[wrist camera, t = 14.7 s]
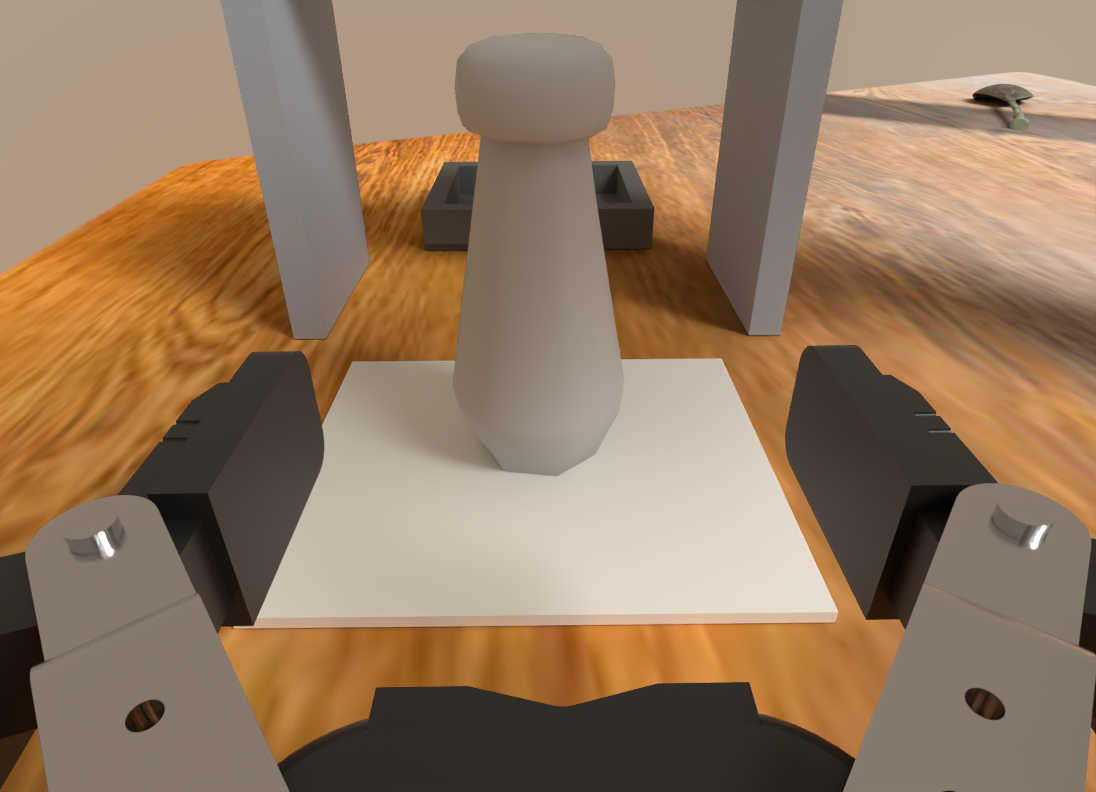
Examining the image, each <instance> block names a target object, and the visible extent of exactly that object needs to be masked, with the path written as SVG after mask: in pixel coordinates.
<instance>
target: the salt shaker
mask: <svg viewBox="0 0 1096 792" xmlns="http://www.w3.org/2000/svg"><path fill="white" fill-rule="evenodd" d="M614 93H615V78H614V69H613V61H612V57H611V56H610V55H609V54H608V53H607V51H606V50H605V49H604V48H603V46H602V45H601V44H600V43H597V42H595V41H592V40H589V39H587V38H584V37H580V36H575V35H564V34H555V33H550V34H549V33H525V34H512V35H501V36H492V37H489V38H486V39H484V40H481V41H479V42H476V43H474V44H471V45H469V46H468V47H467V48H466V50H465V51H464V53H462V55H461V56H460V57H459V59H458V60H457V67H456V78H455V94H456V102H457V110H458V114H459V117H460V119H461V122H462V125H463V126H464V127H465V128H466V129H467V130H468V131H469V132H472V133H475V134H478V135H481V140H480V149H479V157H478V166H477V175H476V183H475V192H474V201H473V209H472V218H471V227H470V235H469V244H468V253H467V261H466V270H465V279H464V287H463V296H462V305H461V313H460V322H459V331H458V339H457V348H456V357H455V365H454V374H453V383H452V386H453V390H454V393H455V397H456V400H457V403H458V406H459V408H460V411H461V414H462V417H463V419H464V420H465V421H466V423H467V424H468V425H469V427H470V428H471V429H472V431H473V432H474V433H475V435H476V436H477V437H478V439H479V440H480V442H481V444H482V445H483V446H484V447H485V449H486V450H487V451H488V452H489V454H490V455H491V456H492V457H493V458H494V460H495V461H496V462H497V463H498V465H499V466H500V467H501V468H502V469H503V471H508V472H518V473H528V474H538V475H548V476H558V475H560V474H562V473H564V472H565V471H567V470H569V469H571V468H572V467H574V466H576V465H578V464H580V463H581V462H583V461H585V460H587V459H588V458H590V457H592V456H594V455H595V454H596V452H597V450H598V449H599V447H600V445H601V443H602V441H603V440H604V438H605V436H606V434H607V432H608V431H609V429H610V427H611V425H612V423H613V422H614V420H615V418H616V416H617V414H618V413H619V408H620V404H621V399H622V392H623V384H624V375H623V369H622V362H621V356H620V349H619V343H618V337H617V330H616V324H615V317H614V311H613V304H612V298H611V292H610V285H609V279H608V272H607V266H606V260H605V253H604V247H603V240H602V234H601V227H600V221H599V215H598V208H597V202H596V194H595V186H594V178H593V170H592V163H591V155H590V147H589V139H588V138H590V137H592V136H594V135H596V134H598V133H600V132H602V131H604V130H605V129H606V128H607V125H608V123H609V120H610V117H611V114H612V111H613V103H614Z"/></svg>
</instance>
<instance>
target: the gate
mask: <svg viewBox="0 0 1096 792" xmlns="http://www.w3.org/2000/svg"><path fill="white" fill-rule="evenodd" d="M220 1H221V5H222V10H223V15H224V19H225V24H226V28H227V33H228V37H229V42H230V47H231V51H232V55H233V61H234V65H235V70H236V74H237V79H238V84H239V88H240V93H241V97H242V102H243V107H244V111H245V115H246V120H247V125H248V130H249V134H250V139H251V144H252V148H253V153H254V157H255V162H256V167H257V171H258V176H259V180H260V185H261V190H262V194H263V199H264V203H265V208H266V213H267V217H268V222H269V226H270V231H271V236H272V240H273V245H274V249H275V254H276V259H277V263H278V268H279V273H280V277H281V282H282V286H283V291H284V296H285V300H286V305H287V309H288V314H289V319H290V323H291V328H292V332H293V337H294V339H326V337H327V336H328V334H329V332H330V330H331V329H332V327H333V325H334V323H335V322H336V320H337V318H338V317H339V315H340V313H341V311H342V310H343V308H344V306H345V304H346V303H347V301H348V299H349V297H350V296H351V294H352V292H353V290H354V289H355V287H356V285H357V284H358V282H359V280H360V278H361V277H362V275H363V273H364V271H365V270H366V268H367V266H368V264H369V263H370V261H369V254H368V247H367V240H366V233H365V226H364V219H363V212H362V205H361V198H360V191H359V184H358V178H357V171H356V164H355V157H354V150H353V143H352V136H351V129H350V123H349V115H348V109H347V101H346V94H345V88H344V81H343V74H342V67H341V60H340V53H339V46H338V39H337V32H336V25H335V19H334V12H333V5H332V0H220ZM842 5H843V0H737V6H736V14H735V22H734V32H733V39H732V48H731V56H730V65H729V73H728V81H727V90H726V98H725V106H724V115H723V123H722V131H721V140H720V148H719V157H718V165H717V173H716V182H715V190H714V198H713V207H712V215H711V224H710V232H709V240H708V249H707V257H706V260H707V262H708V264H709V266H710V267H711V269H712V271H713V273H714V275H715V276H716V278H717V280H718V282H719V283H720V285H721V287H722V289H723V291H724V292H725V294H726V296H727V298H728V299H729V301H730V303H731V305H732V307H733V308H734V310H735V312H736V314H737V315H738V317H739V319H740V321H741V323H742V324H743V326H744V328H745V330H746V331H747V333H748V335H780V334H781V329H782V323H783V318H784V313H785V307H786V302H787V297H788V292H789V286H790V281H791V276H792V270H793V265H794V260H795V254H796V249H797V244H798V239H799V233H800V228H801V223H802V217H803V212H804V207H805V201H806V196H807V191H808V185H809V180H810V175H811V170H812V164H813V159H814V154H815V148H816V143H817V138H818V132H819V127H820V122H821V117H822V111H823V106H824V101H825V95H826V90H827V85H828V79H829V74H830V69H831V63H832V58H833V53H834V47H835V42H836V36H837V32H838V26H839V21H840V16H841V10H842Z"/></svg>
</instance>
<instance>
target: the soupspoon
mask: <svg viewBox="0 0 1096 792" xmlns="http://www.w3.org/2000/svg"><path fill="white" fill-rule="evenodd" d="M1032 97H1034V96H1033V94H1032V93H1030V92H1029V91H1028V90H1026V89H1024V88H1022V87H1019V86H1016V85H1010V84H997V85H991V86H988V87H985V88H982V89H980V90H978V91H977V92H975V93H974V94H973V98H974V99H983V98H986V99H1002V100H1004V101H1006V102H1008V103H1009V105H1010V106H1011V108H1012V109H1013V112H1014V114H1015V115H1014V117H1013V118H1014V120H1012V121H1011V123H1010V125H1009V129H1021V130H1026V129H1027V128H1028V127H1029V121H1028V120H1027V119H1026V118H1023V117H1024V114H1023V113H1022V112H1021V109H1020V107H1019V106H1018V104H1017V103H1016V101H1021V100H1027V99H1030V98H1032ZM1015 100H1016V101H1015Z"/></svg>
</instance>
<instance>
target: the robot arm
mask: <svg viewBox="0 0 1096 792" xmlns="http://www.w3.org/2000/svg"><path fill="white" fill-rule="evenodd" d="M950 429H951V428H950V427H949V426H948V425H947V424H946V423H945V421H944V420H943V419H942V418H941V417H940V416H936V411H935V410H934V409H933V408H932V407H931V405H930V404H929V403H928V402H927V401H926V400H925V399H924V397H923V396H922V395H921V394H920V393H919V392H918V391H916V390H915V389H913V388H911V387H910V386H908V385H906V384H905V383H903V382H901V381H900V380H898V379H896V378H895V377H893V376H892V375H882V374H881V373H880V371H879V370H878V369H877V368H876V367H875V365H874V364H873V363H872V362H871V360H870V359H869V358H868V357H867V356H866V354H865V353H864V352H863V351H862V349H861V348H860V347H858V346H856V345H829V346H807V347H806V348H805V349H804V351H803V353H802V355H801V358H800V362H799V367H798V372H797V377H796V382H795V386H794V391H793V396H792V401H791V406H790V411H789V416H788V421H787V426H786V435H785V443H786V452H787V457H788V461H789V464H790V466H791V468H792V470H793V472H794V474H795V476H796V478H797V480H798V482H799V484H800V486H801V488H802V490H803V492H804V495H805V497H806V499H807V501H808V503H809V505H810V507H811V509H812V511H813V513H814V515H815V517H816V519H817V521H818V523H819V525H820V527H821V529H822V531H823V533H824V535H825V537H826V539H827V541H828V543H829V545H830V547H831V549H832V551H833V553H834V555H835V558H836V560H837V562H838V564H839V566H840V568H841V570H842V572H843V574H844V576H845V578H846V580H847V582H848V584H849V586H850V588H851V590H852V592H853V594H854V596H855V598H856V600H857V602H858V604H859V606H860V608H861V610H862V612H863V614H864V616H865V618H866V620H879V619H900V621H901V623H902V625H903V627H904V628H905V633H904V635H903V638H902V640H901V643H900V645H899V648H898V651H897V653H896V656H895V658H894V661H893V664H892V666H891V669H890V671H889V674H888V677H887V679H886V682H885V684H884V687H883V689H882V692H881V695H880V697H879V700H878V702H877V705H876V708H875V710H874V713H873V715H872V718H871V721H870V723H869V726H868V728H867V731H866V733H865V736H864V739H863V741H862V744H861V746H860V749H859V752H858V754H857V757H856V759H855V758H853V757H852V756H850V755H849V754H848V753H846V752H845V751H843V750H842V749H841V748H839V747H837V746H836V745H834V744H832V743H831V742H829V741H827V740H825V739H824V738H822V737H820V736H818V735H817V734H815V733H812V732H810V731H808V730H806V729H804V728H801V727H799V726H797V725H795V724H792V723H789V722H787V721H784V720H781V719H778V718H775V717H772V716H768V715H764V714H760V713H758V711H757V708H756V704H755V701H754V697H753V694H752V690H751V687H750V684H749V682H733V683H663V684H654V685H650V686H646V687H642V688H639V689H635V690H631V691H627V692H623V693H619V694H615V695H612V696H608V697H604V698H600V699H596V700H592V701H588V702H585V703H581V704H577V705H573V706H567V707H559V706H552V705H548V704H544V703H539V702H535V701H530V700H526V699H522V698H517V697H513V696H508V695H504V694H500V693H495V692H491V691H486V690H482V689H478V688H473V687H469V686H451V687H381V688H376V690H375V695H374V699H373V704H372V708H371V712H370V717H369V719H365V720H361V721H358V722H355V723H352V724H349V725H347V726H344V727H341V728H339V729H336V730H333V731H331V732H329V733H327V734H325V735H323V736H321V737H319V738H317V739H315V740H313V741H311V742H310V743H308V744H306V745H305V746H303V747H302V748H300V749H298V750H297V751H295V752H294V753H292V754H290V755H289V756H288V757H286V758H285V759H284V760H282V761H281V762H280V763H278V764H277V763H276V761H275V759H274V757H273V755H272V752H271V750H270V748H269V746H268V744H267V741H266V739H265V737H264V735H263V733H262V731H261V728H260V726H259V724H258V722H257V720H256V717H255V715H254V713H253V711H252V709H251V706H250V704H249V702H248V700H247V698H246V696H245V693H244V691H243V689H242V687H241V685H240V682H239V680H238V678H237V676H236V674H235V672H234V669H233V667H232V665H231V663H230V661H229V658H228V656H227V654H226V652H225V650H224V647H223V645H222V643H221V641H220V639H219V637H218V632H219V630H220V628H221V626H254V624H255V621H256V619H257V617H258V614H259V612H260V610H261V607H262V605H263V603H264V601H265V598H266V596H267V594H268V591H269V589H270V587H271V584H272V582H273V580H274V577H275V575H276V573H277V570H278V568H279V566H280V563H281V561H282V559H283V556H284V554H285V552H286V549H287V547H288V545H289V542H290V540H291V538H292V536H293V533H294V531H295V529H296V526H297V524H298V522H299V519H300V517H301V515H302V512H303V510H304V508H305V505H306V503H307V501H308V498H309V496H310V494H311V491H312V489H313V487H314V484H315V482H316V480H317V478H318V475H319V473H320V470H321V468H322V464H323V458H324V434H323V429H322V424H321V420H320V415H319V410H318V406H317V401H316V397H315V392H314V388H313V383H312V379H311V374H310V369H309V365H308V362H307V359H306V357H305V356H304V354H303V353H302V352H299V351H297V352H252V353H251V354H250V355H249V356H248V357H247V358H246V360H245V361H244V362H243V364H242V365H241V367H240V368H239V369H238V371H237V372H236V373H235V375H234V376H233V377H232V379H231V380H230V381H229V383H218V384H217V385H215V386H214V387H212V388H210V389H209V390H207V391H206V392H204V393H203V394H201V395H200V396H198V397H197V398H195V399H194V400H192V401H191V403H190V404H189V405H188V406H187V408H186V409H185V410H184V412H183V413H182V414H181V415H180V417H179V418H178V419H177V420H176V425H172V427H171V428H170V429H169V431H168V432H167V433H166V434H165V436H164V437H163V442H159V443H158V444H157V446H156V447H155V448H154V450H153V451H152V452H151V453H150V455H149V456H148V457H147V458H146V460H145V461H144V462H143V463H142V465H141V466H140V467H139V469H138V470H137V471H136V472H135V474H134V475H133V476H132V477H131V479H130V480H129V481H128V482H127V484H126V485H125V486H124V488H123V489H122V490H121V491H120V493H119V494H118V495H117V496H110V497H104V498H100V499H95V500H92V501H89V502H86V503H83V504H81V505H78V506H76V507H74V508H72V509H70V510H68V511H66V512H64V513H62V514H60V515H59V516H57V517H55V518H54V519H52V520H51V521H50V522H48V523H47V524H46V525H45V526H43V527H42V528H41V529H40V530H39V531H38V532H37V533H36V534H35V536H34V537H33V538H32V539H31V541H30V543H29V545H28V546H27V550H26V552H22V553H18V554H13V555H9V556H4V557H0V789H1V787H2V785H3V784H4V782H5V780H6V779H7V777H8V775H9V774H10V772H11V770H12V769H13V767H14V765H15V763H16V762H17V760H18V758H19V757H20V755H21V753H22V752H23V750H24V748H25V747H26V745H27V743H28V741H29V740H30V738H31V736H32V735H33V733H34V731H35V730H36V729H37V728H38V731H39V737H40V743H41V749H42V755H43V761H44V767H45V773H46V779H47V785H48V791H49V792H1084V790H1085V780H1086V770H1087V760H1088V750H1089V740H1090V730H1091V727H1092V729H1093V730H1094V732H1095V734H1096V539H1092V538H1091V537H1090V534H1089V532H1088V530H1087V529H1086V527H1085V525H1084V524H1083V523H1082V522H1081V521H1080V520H1079V519H1078V518H1077V517H1076V516H1075V515H1074V514H1073V513H1072V512H1070V511H1069V510H1068V509H1066V508H1065V507H1063V506H1062V505H1060V504H1059V503H1057V502H1055V501H1053V500H1052V499H1050V498H1047V497H1045V496H1043V495H1041V494H1039V493H1036V492H1033V491H1030V490H1027V489H1024V488H1020V487H1016V486H1012V485H1006V484H999V483H998V482H997V481H996V480H995V479H994V478H993V477H992V475H991V474H990V473H989V472H988V471H987V470H986V468H985V467H984V466H983V465H982V464H981V463H980V462H979V460H978V459H977V458H976V457H975V456H974V455H973V454H972V452H971V451H970V450H969V449H968V448H967V447H966V446H965V444H964V443H963V442H962V441H961V440H960V439H959V438H958V436H957V435H956V434H955V433H951V432H950Z"/></svg>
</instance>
